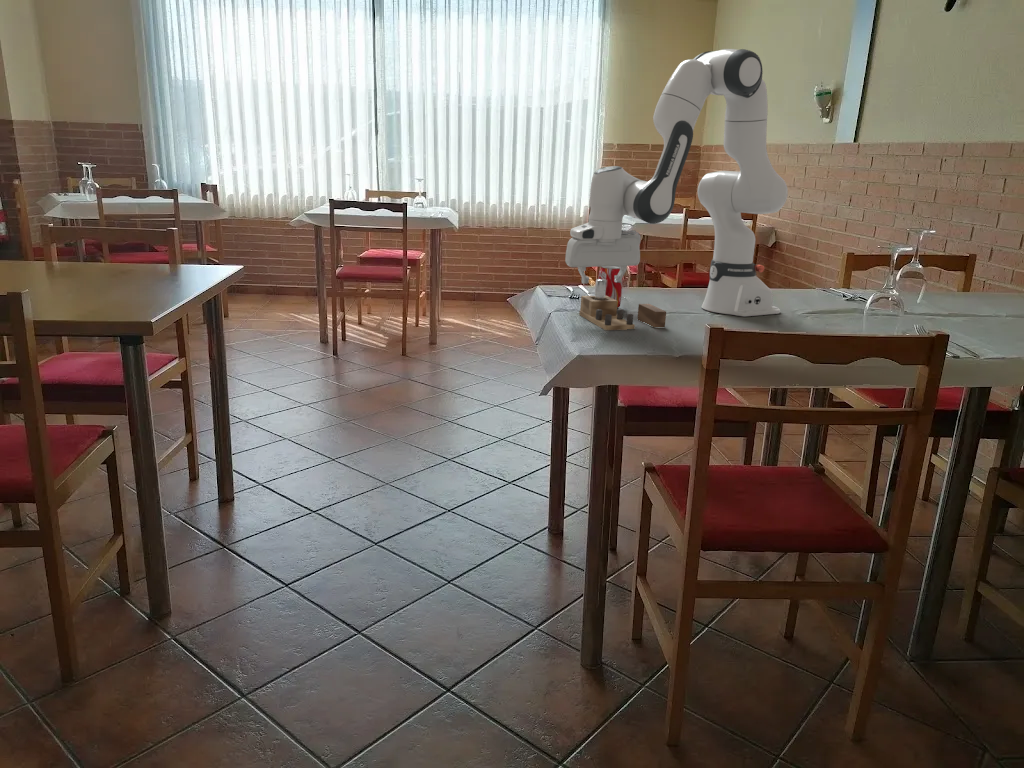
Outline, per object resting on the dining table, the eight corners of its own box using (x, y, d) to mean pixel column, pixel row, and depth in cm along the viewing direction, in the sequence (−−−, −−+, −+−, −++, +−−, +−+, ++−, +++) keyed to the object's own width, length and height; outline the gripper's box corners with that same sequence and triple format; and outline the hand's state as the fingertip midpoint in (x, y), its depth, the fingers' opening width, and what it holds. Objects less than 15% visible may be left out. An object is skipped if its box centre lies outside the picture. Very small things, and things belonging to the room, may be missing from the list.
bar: (647, 320, 210) (648, 303, 209) (664, 328, 201) (666, 311, 200) (637, 320, 209) (638, 303, 208) (654, 328, 200) (655, 311, 199)
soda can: (619, 311, 218) (623, 269, 215) (594, 309, 220) (597, 267, 216) (621, 306, 225) (624, 265, 222) (596, 304, 226) (600, 263, 223)
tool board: (606, 314, 214) (607, 295, 213) (634, 329, 198) (636, 309, 196) (579, 314, 212) (580, 295, 210) (605, 330, 195) (607, 310, 194)
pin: (601, 311, 211) (604, 279, 208) (605, 314, 208) (608, 280, 206) (591, 311, 210) (594, 279, 207) (595, 314, 208) (598, 280, 205)
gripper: (636, 228, 209) (632, 279, 213) (564, 229, 203) (562, 281, 208) (646, 231, 203) (642, 283, 207) (572, 232, 198) (570, 286, 202)
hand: (601, 282), depth 207 cm, fingers open, 8 cm apart
